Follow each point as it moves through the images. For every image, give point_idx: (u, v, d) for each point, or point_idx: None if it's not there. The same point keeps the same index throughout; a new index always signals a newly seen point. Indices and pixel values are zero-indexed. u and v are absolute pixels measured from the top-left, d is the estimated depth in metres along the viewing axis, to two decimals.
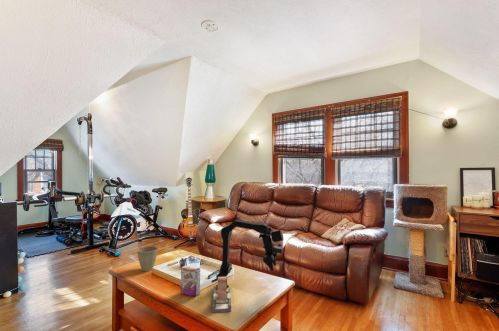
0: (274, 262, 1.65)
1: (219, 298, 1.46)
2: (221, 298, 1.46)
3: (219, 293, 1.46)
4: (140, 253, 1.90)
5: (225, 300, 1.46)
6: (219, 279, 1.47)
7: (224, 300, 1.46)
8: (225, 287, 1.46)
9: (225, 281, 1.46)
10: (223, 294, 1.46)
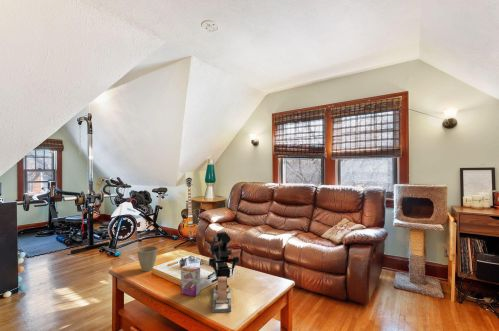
0: None
1: (219, 298, 1.46)
2: (221, 298, 1.46)
3: (219, 293, 1.46)
4: (140, 253, 1.90)
5: (225, 300, 1.46)
6: (219, 279, 1.47)
7: (224, 300, 1.46)
8: (225, 287, 1.46)
9: (225, 281, 1.46)
10: (223, 294, 1.46)
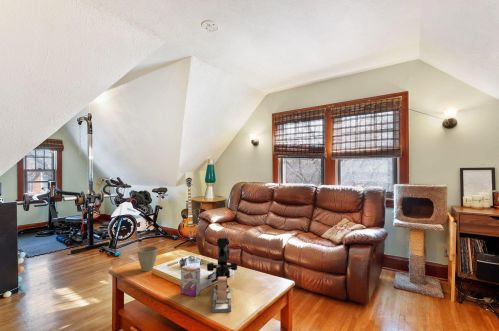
0: None
1: (219, 298, 1.46)
2: (221, 298, 1.46)
3: (219, 293, 1.46)
4: (140, 253, 1.90)
5: (225, 300, 1.46)
6: (219, 279, 1.47)
7: (224, 300, 1.46)
8: (225, 287, 1.46)
9: (225, 281, 1.46)
10: (223, 294, 1.46)
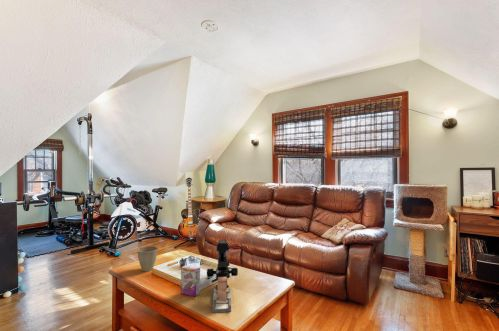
0: None
1: (219, 298, 1.46)
2: (221, 298, 1.46)
3: (219, 293, 1.46)
4: (140, 253, 1.90)
5: (225, 300, 1.45)
6: (219, 279, 1.47)
7: (224, 300, 1.45)
8: (225, 287, 1.46)
9: (225, 281, 1.46)
10: (223, 294, 1.46)
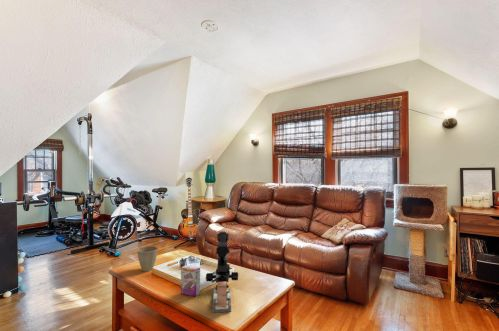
0: None
1: (219, 304, 1.39)
2: (221, 304, 1.39)
3: (219, 299, 1.39)
4: (140, 253, 1.90)
5: (225, 306, 1.39)
6: (219, 284, 1.41)
7: (224, 306, 1.39)
8: (225, 293, 1.40)
9: (225, 286, 1.40)
10: (223, 300, 1.40)
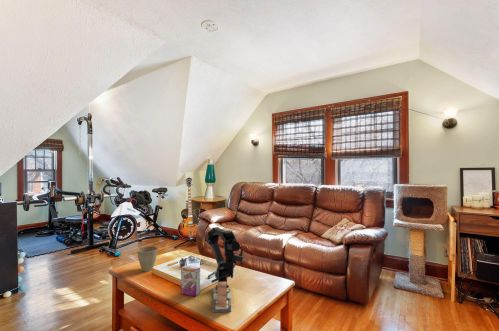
0: None
1: (219, 304, 1.39)
2: (221, 304, 1.39)
3: (219, 299, 1.39)
4: (140, 253, 1.90)
5: (225, 306, 1.39)
6: (219, 284, 1.41)
7: (224, 306, 1.39)
8: (225, 293, 1.40)
9: (225, 286, 1.40)
10: (223, 300, 1.40)
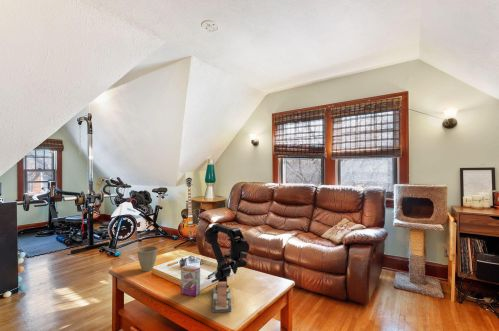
0: None
1: (219, 304, 1.39)
2: (221, 304, 1.39)
3: (219, 299, 1.39)
4: (140, 253, 1.90)
5: (225, 306, 1.39)
6: (219, 284, 1.41)
7: (224, 306, 1.39)
8: (225, 293, 1.40)
9: (225, 286, 1.40)
10: (223, 300, 1.40)
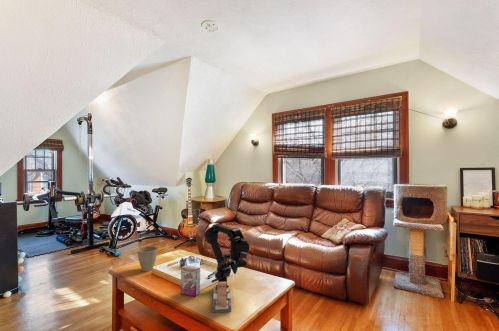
0: None
1: (219, 304, 1.39)
2: (221, 304, 1.39)
3: (219, 299, 1.39)
4: (140, 253, 1.90)
5: (225, 306, 1.39)
6: (219, 284, 1.41)
7: (224, 306, 1.39)
8: (225, 293, 1.40)
9: (225, 286, 1.40)
10: (223, 300, 1.40)
